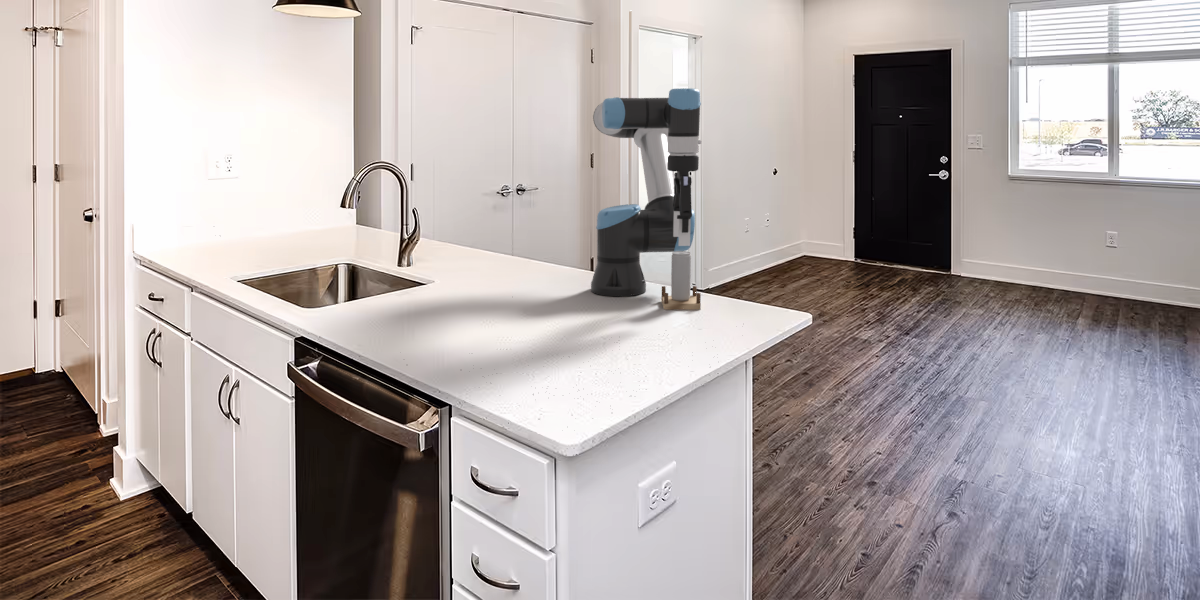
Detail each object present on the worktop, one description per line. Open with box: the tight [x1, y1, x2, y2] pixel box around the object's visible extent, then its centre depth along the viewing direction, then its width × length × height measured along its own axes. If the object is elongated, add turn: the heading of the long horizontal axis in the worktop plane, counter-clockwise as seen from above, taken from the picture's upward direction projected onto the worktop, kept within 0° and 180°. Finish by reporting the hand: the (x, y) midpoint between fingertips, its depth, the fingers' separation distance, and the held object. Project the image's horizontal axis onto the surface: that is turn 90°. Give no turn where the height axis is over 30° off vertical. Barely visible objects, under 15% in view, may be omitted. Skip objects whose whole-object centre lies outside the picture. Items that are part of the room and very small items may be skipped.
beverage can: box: [670, 250, 692, 301], centre depth 192 cm, size 5×5×12 cm
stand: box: [660, 285, 702, 311], centre depth 193 cm, size 9×9×4 cm
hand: (681, 241), depth 190 cm, fingers open, 13 cm apart
